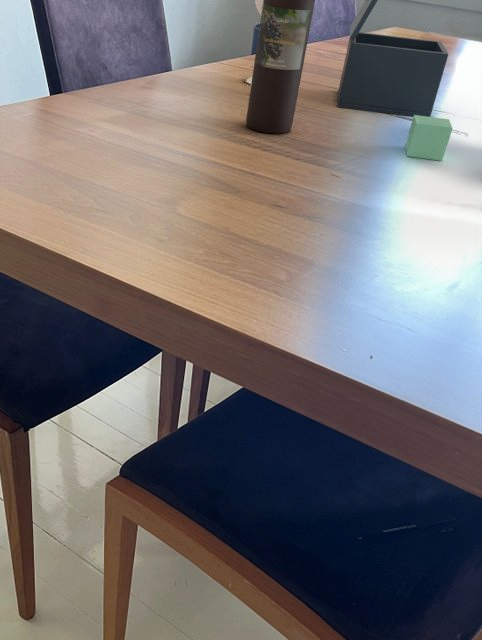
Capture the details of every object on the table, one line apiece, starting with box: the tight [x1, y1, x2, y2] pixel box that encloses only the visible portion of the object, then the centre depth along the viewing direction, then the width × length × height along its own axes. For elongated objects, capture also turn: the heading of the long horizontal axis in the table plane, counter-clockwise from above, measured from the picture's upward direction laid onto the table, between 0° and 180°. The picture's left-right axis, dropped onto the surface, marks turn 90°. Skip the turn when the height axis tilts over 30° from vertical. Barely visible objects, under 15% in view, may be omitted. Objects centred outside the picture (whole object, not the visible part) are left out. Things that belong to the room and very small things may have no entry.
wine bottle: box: [245, 0, 316, 135], centre depth 102 cm, size 7×7×30 cm
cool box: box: [336, 31, 449, 117], centre depth 127 cm, size 16×13×10 cm
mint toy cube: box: [404, 115, 453, 162], centre depth 105 cm, size 5×5×4 cm
